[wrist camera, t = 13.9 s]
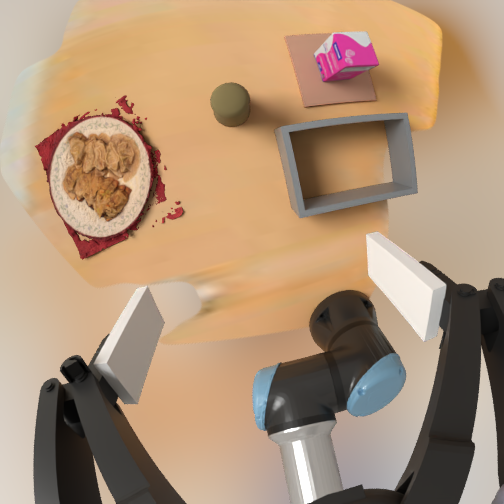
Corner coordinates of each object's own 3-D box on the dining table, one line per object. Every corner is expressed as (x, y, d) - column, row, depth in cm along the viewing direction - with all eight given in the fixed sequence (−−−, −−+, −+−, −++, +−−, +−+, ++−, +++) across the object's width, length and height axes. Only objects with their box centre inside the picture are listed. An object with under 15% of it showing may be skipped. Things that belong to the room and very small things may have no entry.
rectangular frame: (397, 186, 46) (417, 193, 40) (291, 207, 47) (299, 218, 41) (387, 115, 41) (407, 112, 34) (274, 129, 42) (280, 126, 35)
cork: (237, 86, 39) (237, 69, 29) (257, 115, 41) (262, 105, 31) (206, 105, 40) (197, 92, 29) (225, 133, 42) (221, 129, 32)
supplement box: (311, 54, 36) (332, 30, 25) (341, 51, 36) (369, 30, 25) (321, 83, 38) (345, 66, 28) (351, 79, 38) (381, 65, 27)
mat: (374, 100, 40) (376, 100, 39) (304, 107, 40) (305, 106, 40) (355, 34, 35) (356, 33, 34) (284, 37, 35) (284, 36, 35)
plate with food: (85, 256, 49) (77, 263, 46) (39, 145, 39) (29, 146, 36) (185, 212, 48) (182, 218, 45) (135, 82, 37) (128, 78, 34)
